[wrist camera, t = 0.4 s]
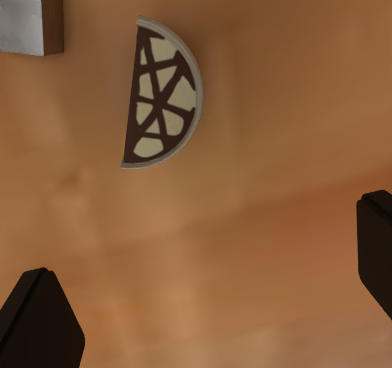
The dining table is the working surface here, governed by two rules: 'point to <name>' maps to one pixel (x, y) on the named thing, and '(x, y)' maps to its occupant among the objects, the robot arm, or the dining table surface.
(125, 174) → the dining table surface
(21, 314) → the robot arm
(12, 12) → the brushed metal cube
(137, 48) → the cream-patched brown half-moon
